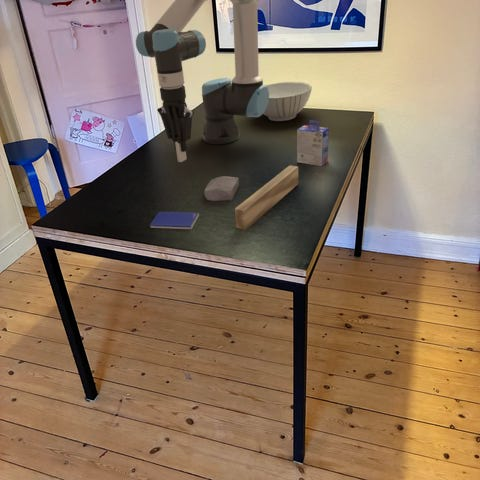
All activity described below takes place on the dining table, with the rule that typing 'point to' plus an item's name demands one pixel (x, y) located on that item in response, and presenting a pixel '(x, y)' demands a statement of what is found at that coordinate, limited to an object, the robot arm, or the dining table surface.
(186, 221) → the hard drive
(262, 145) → the dining table surface
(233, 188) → the stone block
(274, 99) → the decorative bowl
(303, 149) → the ink cartridge box
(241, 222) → the oak board
